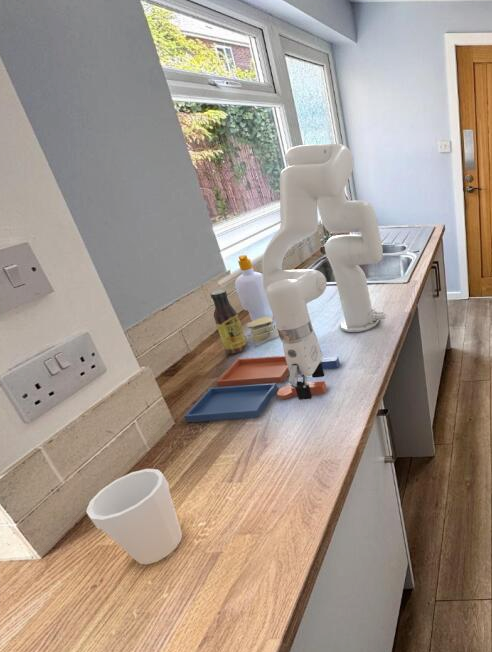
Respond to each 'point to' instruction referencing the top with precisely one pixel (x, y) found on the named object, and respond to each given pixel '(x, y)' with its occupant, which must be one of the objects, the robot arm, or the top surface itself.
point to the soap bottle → (252, 291)
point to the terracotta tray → (255, 371)
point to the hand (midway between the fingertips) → (312, 387)
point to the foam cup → (138, 515)
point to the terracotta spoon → (291, 391)
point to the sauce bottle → (228, 323)
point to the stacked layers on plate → (262, 331)
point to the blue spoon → (330, 362)
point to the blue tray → (232, 402)
